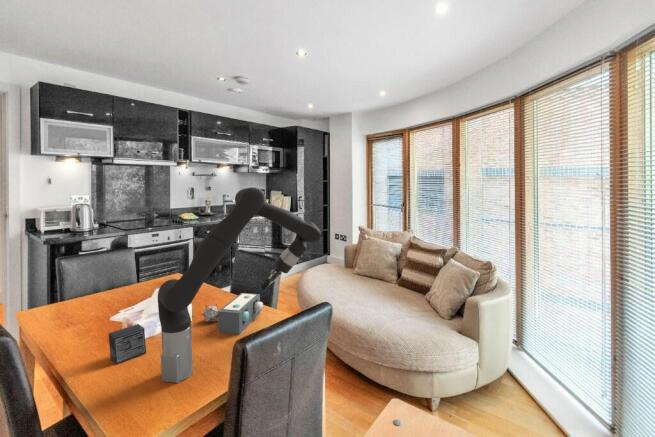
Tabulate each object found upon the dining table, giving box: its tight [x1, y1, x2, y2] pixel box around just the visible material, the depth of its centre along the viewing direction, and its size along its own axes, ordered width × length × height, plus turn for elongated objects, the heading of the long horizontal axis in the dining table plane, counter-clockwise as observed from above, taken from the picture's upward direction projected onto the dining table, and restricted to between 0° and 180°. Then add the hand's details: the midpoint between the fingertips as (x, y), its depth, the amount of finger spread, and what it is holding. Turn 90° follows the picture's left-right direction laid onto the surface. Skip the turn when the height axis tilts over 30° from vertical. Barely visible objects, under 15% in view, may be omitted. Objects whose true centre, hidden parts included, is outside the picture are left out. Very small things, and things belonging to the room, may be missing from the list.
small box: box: [108, 323, 147, 365], centre depth 121 cm, size 11×6×10 cm, turn 141°
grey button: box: [254, 301, 264, 312], centre depth 156 cm, size 4×3×4 cm
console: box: [217, 292, 261, 336], centre depth 151 cm, size 24×10×11 cm, turn 170°
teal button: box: [242, 311, 249, 321], centre depth 144 cm, size 4×3×4 cm
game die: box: [201, 303, 219, 324], centre depth 152 cm, size 9×8×10 cm
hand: (262, 288), depth 142 cm, fingers closed
